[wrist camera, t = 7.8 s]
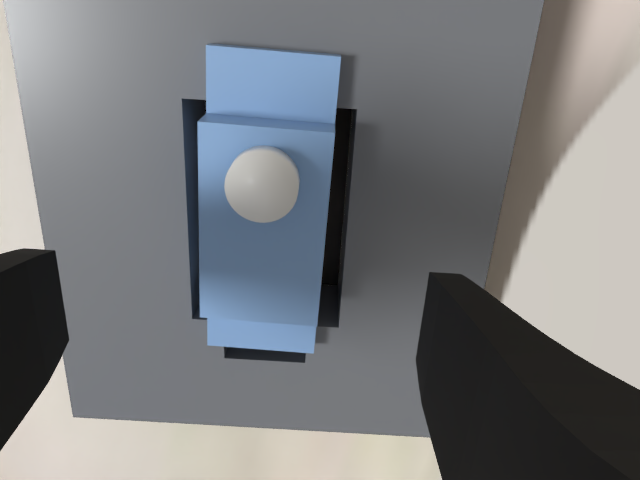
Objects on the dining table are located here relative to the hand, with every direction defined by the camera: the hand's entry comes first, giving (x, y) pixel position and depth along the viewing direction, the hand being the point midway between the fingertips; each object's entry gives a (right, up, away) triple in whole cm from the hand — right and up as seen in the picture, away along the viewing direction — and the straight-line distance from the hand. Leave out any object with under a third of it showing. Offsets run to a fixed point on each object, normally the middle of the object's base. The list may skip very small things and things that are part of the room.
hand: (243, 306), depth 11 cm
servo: (0, +3, +6) cm, 7 cm away
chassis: (0, +3, +6) cm, 7 cm away
